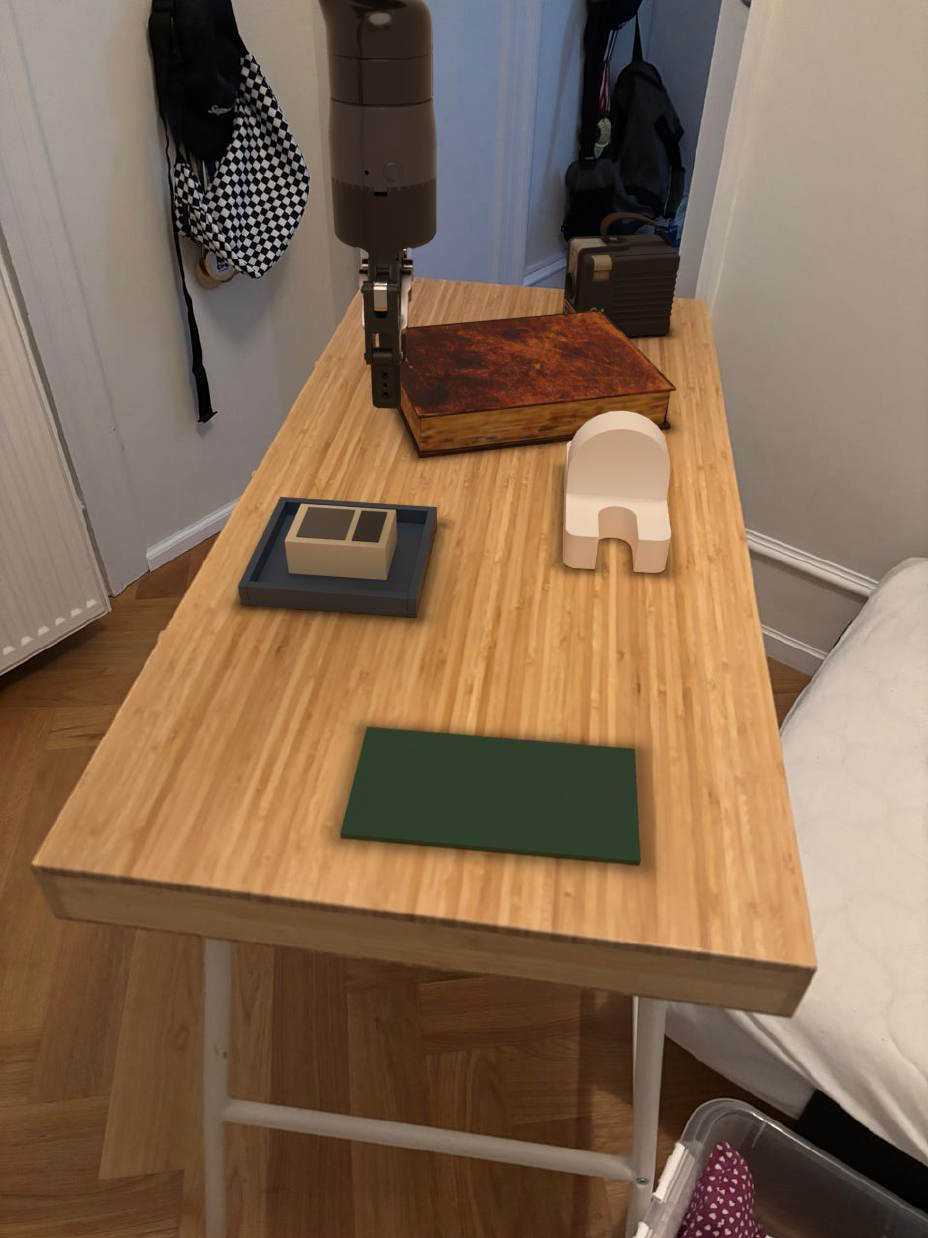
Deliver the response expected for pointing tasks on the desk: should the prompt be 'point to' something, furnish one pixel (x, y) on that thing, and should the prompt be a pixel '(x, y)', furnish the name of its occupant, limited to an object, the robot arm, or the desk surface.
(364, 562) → the beige rectangular block
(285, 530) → the tray
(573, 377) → the book
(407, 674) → the desk surface
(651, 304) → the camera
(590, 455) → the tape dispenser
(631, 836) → the mat
